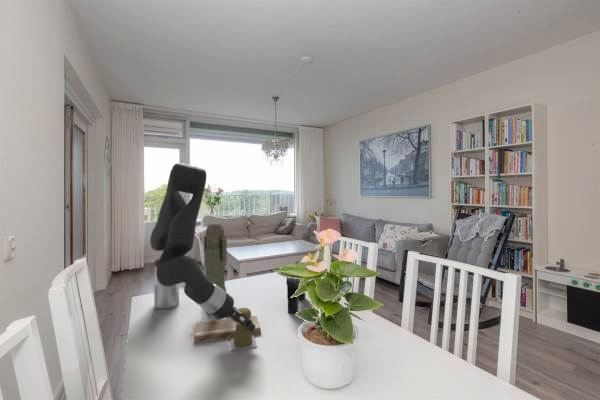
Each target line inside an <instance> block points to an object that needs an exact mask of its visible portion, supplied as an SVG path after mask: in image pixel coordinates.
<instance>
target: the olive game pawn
mask: <svg viewBox="0 0 600 400" xmlns="http://www.w3.org/2000/svg"><path fill="white" fill-rule="evenodd" d="M238 309H239V311H240V312H241V313H243V314H244V315H245V316H246V317H247V318H249V319H250V318H251V316H252V312H251V310H250V309H249V308H247V307H239V308H238ZM240 315H241V314H240ZM237 322H238V321H237ZM251 344H252V335H251V332H250V331H249V330H248V329H246V328H244V327H243V326H242V325H238V324H236V330H235V338H234V345H235V346H237V347H246V346H249V345H251Z"/></svg>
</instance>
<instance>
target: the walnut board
mask: <svg viewBox="0 0 600 400" xmlns="http://www.w3.org/2000/svg"><path fill="white" fill-rule="evenodd" d="M250 320H251V321H252V323H253V324H254V325H255V329H254V330H253V332H251V334H254V335H258V334H261V332H262V329H261V325H260V321H259V319H258V315H251V318H250ZM235 330H236V323H235V322H233V321H230V320H229V319H227V318H223V319H216V320H215V319H214V320H208V321H201V322H195V328H194V335H193V339H194V340H193V342H194V343H199V342H200V343H201V342H208V341H213V340H215V341H216V340H220V339H221V340H222V339H228V338H229V339H230V337H235Z"/></svg>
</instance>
